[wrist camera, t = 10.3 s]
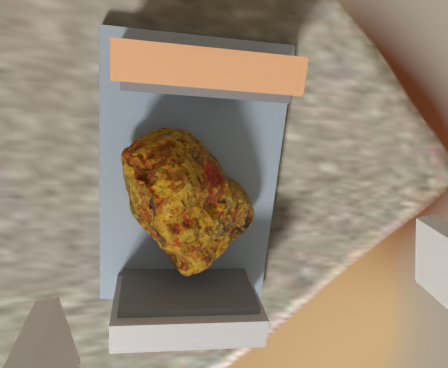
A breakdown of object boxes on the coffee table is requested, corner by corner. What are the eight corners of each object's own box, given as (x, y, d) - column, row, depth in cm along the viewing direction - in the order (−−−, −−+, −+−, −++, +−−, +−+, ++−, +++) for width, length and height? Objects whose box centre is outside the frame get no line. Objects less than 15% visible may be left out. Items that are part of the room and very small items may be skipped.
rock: (224, 145, 37) (279, 234, 33) (158, 196, 39) (202, 286, 35) (157, 94, 27) (223, 211, 23) (73, 165, 29) (119, 286, 25)
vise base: (101, 291, 36) (87, 354, 29) (101, 25, 29) (82, 15, 22) (257, 288, 39) (283, 346, 31) (290, 45, 32) (333, 42, 25)
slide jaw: (119, 82, 30) (109, 90, 23) (120, 41, 29) (110, 37, 22) (271, 95, 32) (301, 105, 25) (276, 56, 31) (309, 57, 25)
